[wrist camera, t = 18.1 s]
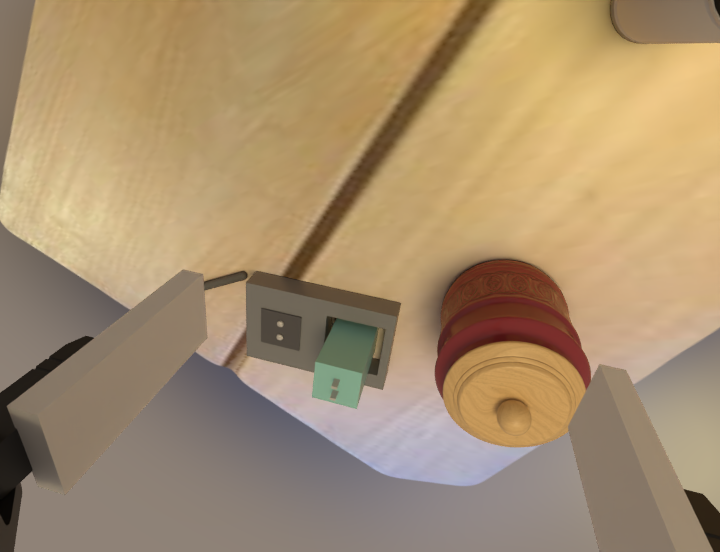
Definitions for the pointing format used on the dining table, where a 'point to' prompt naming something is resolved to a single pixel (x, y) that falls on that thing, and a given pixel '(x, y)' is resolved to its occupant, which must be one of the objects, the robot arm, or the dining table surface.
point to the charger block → (344, 363)
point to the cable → (225, 280)
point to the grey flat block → (310, 321)
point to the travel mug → (667, 21)
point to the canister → (509, 355)
